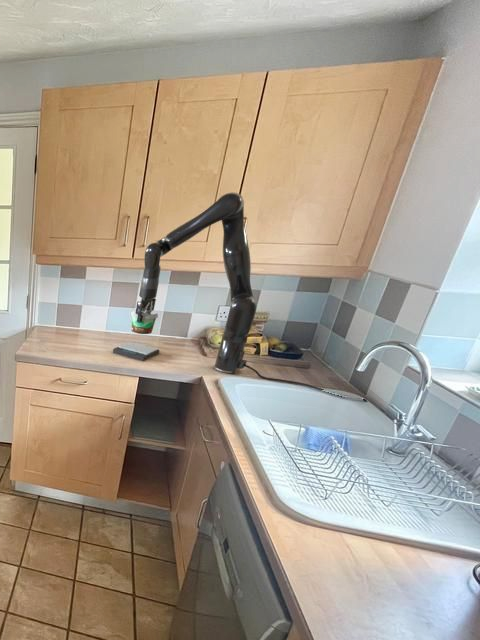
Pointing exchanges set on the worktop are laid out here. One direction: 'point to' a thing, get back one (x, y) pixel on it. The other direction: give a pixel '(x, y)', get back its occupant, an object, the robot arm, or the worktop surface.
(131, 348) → the scale
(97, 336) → the worktop surface
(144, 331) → the food container
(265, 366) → the worktop surface
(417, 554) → the worktop surface
